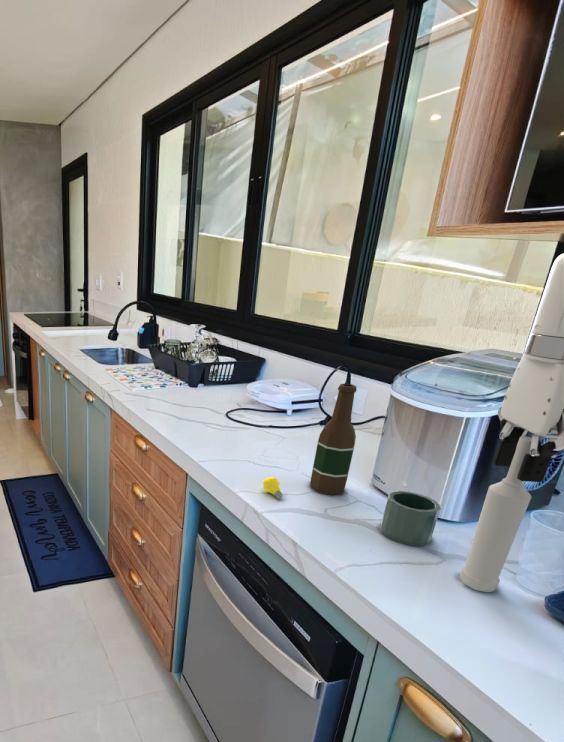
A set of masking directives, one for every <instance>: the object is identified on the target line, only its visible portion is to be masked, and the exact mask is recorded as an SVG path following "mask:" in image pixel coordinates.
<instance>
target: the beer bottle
mask: <svg viewBox="0 0 564 742" xmlns="http://www.w3.org/2000/svg"><path fill="white" fill-rule="evenodd" d="M337 390H338V393H337V396H336V401H335V403H334V404H335V405H334V409H333V412H332V416H331V417H330V420H329V421H327V423H326V424H325V425H324V426H323V428H322V430H321V432H320V433H319V436H318V439H317V444H316V450H315V454H314V460H313V465H312V471H311V476H310V483H309V486H310V488H311V489H313V490H314V491H316V492H317V493H319V494H323V495H329V496H336V495H337V496H338V495H343V494H344V491H345V489H346V484H347V482H348V478H349V473H350V468H351V463H352V459H353V455H354V450H355V445H356V438H357V435H356V429H355V427H354V425H353V423H352V414H353V406H354V399H355V393H356V392H357V385H355V384H352V383H340V384H339V386H338V388H337Z"/></svg>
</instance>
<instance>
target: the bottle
mask: <svg viewBox="0 0 564 742" xmlns="http://www.w3.org/2000/svg"><path fill="white" fill-rule="evenodd" d="M531 442H532V436H527V435H525V436H521V437H520V438H519V441H518V444H517V447H516V451H515V454H514V457H513V460H512V463H511V465H510V467H509V469H508V471H507V474H506V477H504V478H502V479H501V481H499V482H496V483H494V484H490V485H489V486H488V489H487V492H486V495H485V499H484V502H483V505H482V509H481V512H480V515H479V519H478V522H477V525H476V528H475V531H474V535H473V538H472V541H471V544H470V547H469V550H468V552H467V553H468V554H467V557H466V560H465V563H464V565H462V567H461V568H460V573H459V578H460V581H461V583H463V584H464V585H465V586H466V587H468V588H470V589H473V590H475V591H478V592H482V593H491V592H494V591H495V590H496V589H497V587H498V586H499V584H500V581H501V578H500V576H501V573H502V571H503V567H504V566H505V563H506V561H507V558H508V556H509V553H510V551H511V548H512V546H513V543H514V541H515V538H516V537H517V533H518V531H519V529H520V526H521V524H522V521H523V519H524V517H525V514H526V511H527V509H528V507H529V505H530V502H531V499H532V495H531V494H530V492H529V491H528V490H527V489H526V487H525V483H524V481H520V480H518V479H517V476H518V473H519V470H520V467H521V465H522V462H523V459H524V456H525V454H530V448H531Z"/></svg>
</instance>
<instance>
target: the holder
mask: <svg viewBox="0 0 564 742" xmlns="http://www.w3.org/2000/svg"><path fill="white" fill-rule="evenodd" d="M440 511H441V504H439V503H438V502H437V501H436V500H435V499H434V498H433V499H432V498H431V497H428V496H426V495H424V494H420V493H416V492H412V491H401V490H398V491H392V492H390V493H389V494H388V495H387V500H386V504H385V508H384V512H383V516H382V518H381V523H380V531H381V533H382V534H383V535H384V536H386V537H387V538H389V539H391V540H393V541H395V542H398V543H401V544H403V545H409V546H416V547H417V546H418V547H419V546H426V545H428V544H429V543H430V542H431V540H432V537H433V535H434V531H435V527H436V524H437V521H438V517H439V514H440Z"/></svg>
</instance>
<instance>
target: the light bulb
mask: <svg viewBox="0 0 564 742" xmlns="http://www.w3.org/2000/svg"><path fill="white" fill-rule="evenodd" d="M262 487H263V490H264V491H266V492H267V493H270V494H272V495H273V496H275V497H276V499H280V500H281V499H282V498H283V496H284V495H283V492H282V489H281V488H280V481H279V480H278V479H277V478H276V477H275V476H269V477H266V478H265V479H264V480H263V482H262Z"/></svg>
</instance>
